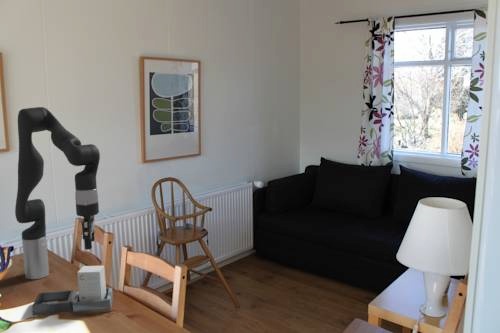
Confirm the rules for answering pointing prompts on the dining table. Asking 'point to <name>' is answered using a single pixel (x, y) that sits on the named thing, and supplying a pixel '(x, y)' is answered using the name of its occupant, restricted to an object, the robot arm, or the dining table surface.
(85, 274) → the small box
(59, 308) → the socket
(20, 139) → the robot arm
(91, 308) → the frame
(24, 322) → the dining table surface
